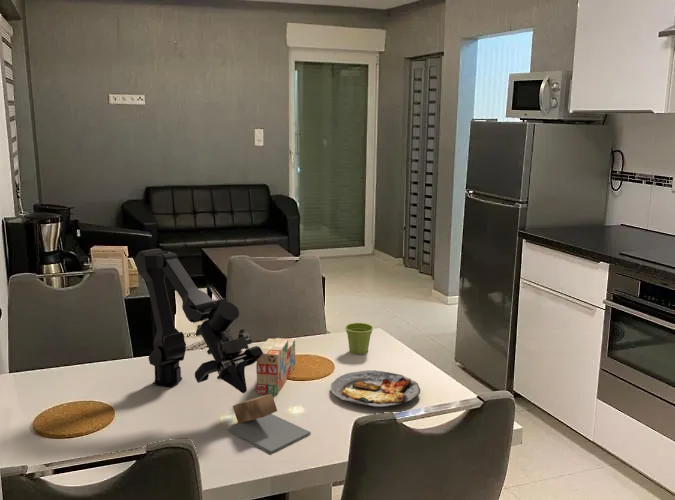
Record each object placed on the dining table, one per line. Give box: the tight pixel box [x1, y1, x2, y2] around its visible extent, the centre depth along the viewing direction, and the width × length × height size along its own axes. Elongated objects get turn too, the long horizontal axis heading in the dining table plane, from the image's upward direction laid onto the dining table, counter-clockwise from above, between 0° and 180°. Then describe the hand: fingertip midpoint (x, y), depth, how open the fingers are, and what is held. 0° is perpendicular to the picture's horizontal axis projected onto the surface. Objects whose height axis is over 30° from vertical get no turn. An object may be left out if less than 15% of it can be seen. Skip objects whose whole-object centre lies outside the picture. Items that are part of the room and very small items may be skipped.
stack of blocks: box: [255, 337, 296, 396], centre depth 189 cm, size 21×6×12 cm, turn 170°
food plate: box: [330, 369, 421, 408], centre depth 181 cm, size 25×23×4 cm
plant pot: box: [344, 322, 374, 356], centre depth 213 cm, size 9×9×9 cm
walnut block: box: [232, 394, 278, 424], centre depth 160 cm, size 4×4×11 cm
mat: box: [227, 413, 312, 455], centre depth 157 cm, size 16×13×1 cm
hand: (245, 392), depth 162 cm, fingers closed
